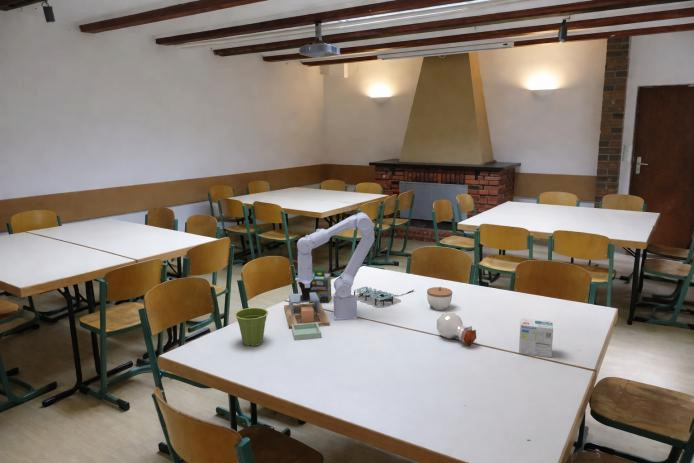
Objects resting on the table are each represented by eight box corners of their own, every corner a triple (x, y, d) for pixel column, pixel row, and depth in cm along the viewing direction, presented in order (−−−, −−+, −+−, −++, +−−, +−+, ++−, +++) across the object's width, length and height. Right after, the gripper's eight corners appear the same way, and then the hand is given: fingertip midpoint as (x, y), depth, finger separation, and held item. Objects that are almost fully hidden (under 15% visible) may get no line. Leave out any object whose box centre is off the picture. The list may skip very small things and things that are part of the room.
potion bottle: (440, 334, 191) (470, 353, 180) (426, 326, 185) (457, 344, 173) (452, 313, 192) (483, 330, 181) (439, 304, 186) (471, 321, 174)
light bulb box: (550, 350, 175) (553, 321, 173) (551, 358, 169) (554, 328, 166) (518, 345, 178) (520, 317, 176) (518, 353, 172) (520, 324, 170)
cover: (315, 303, 217) (315, 287, 216) (319, 312, 207) (319, 294, 206) (289, 305, 215) (288, 288, 213) (291, 314, 205) (291, 296, 203)
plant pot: (275, 338, 185) (274, 310, 183) (256, 351, 174) (255, 321, 172) (249, 333, 190) (247, 305, 188) (229, 345, 179) (228, 316, 177)
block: (312, 319, 203) (312, 306, 202) (313, 323, 199) (313, 310, 198) (301, 319, 203) (301, 307, 201) (302, 324, 198) (302, 310, 197)
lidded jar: (455, 306, 218) (456, 285, 216) (446, 314, 209) (447, 292, 207) (432, 302, 224) (433, 282, 222) (422, 309, 215) (423, 288, 213)
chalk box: (331, 297, 231) (331, 266, 228) (328, 303, 222) (328, 271, 219) (311, 296, 232) (311, 265, 229) (308, 303, 223) (307, 271, 220)
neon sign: (423, 286, 234) (381, 301, 214) (423, 294, 235) (381, 310, 215) (389, 276, 249) (347, 289, 229) (389, 284, 250) (347, 298, 230)
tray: (317, 327, 195) (317, 322, 194) (321, 338, 185) (321, 332, 185) (291, 330, 193) (291, 324, 192) (294, 340, 183) (294, 335, 183)
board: (320, 305, 219) (320, 302, 219) (329, 325, 197) (329, 322, 196) (284, 308, 216) (283, 305, 216) (289, 329, 194) (288, 325, 193)
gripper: (293, 263, 207) (294, 294, 210) (296, 272, 193) (297, 306, 196) (310, 262, 208) (310, 293, 211) (315, 271, 195) (315, 304, 197)
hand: (305, 299), depth 204 cm, fingers closed
